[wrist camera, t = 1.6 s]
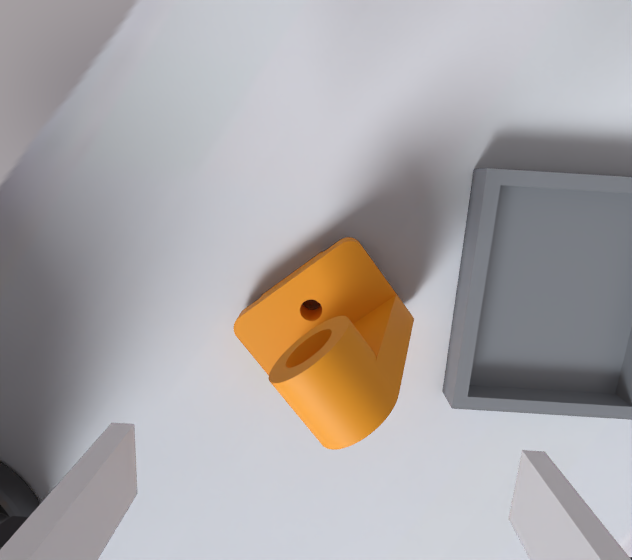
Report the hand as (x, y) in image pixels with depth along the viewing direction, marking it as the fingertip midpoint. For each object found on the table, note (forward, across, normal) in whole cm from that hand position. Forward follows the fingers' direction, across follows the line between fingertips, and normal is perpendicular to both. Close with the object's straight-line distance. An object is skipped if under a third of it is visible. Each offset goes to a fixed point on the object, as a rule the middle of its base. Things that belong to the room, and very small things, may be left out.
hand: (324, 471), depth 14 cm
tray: (+18, +17, +2) cm, 25 cm away
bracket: (+18, 0, 0) cm, 19 cm away
